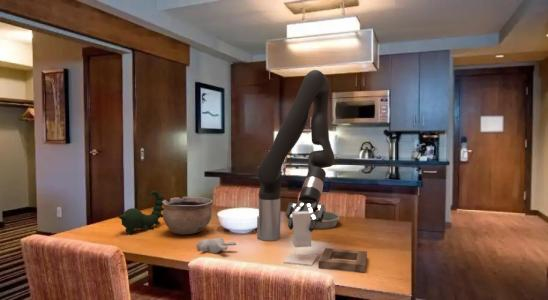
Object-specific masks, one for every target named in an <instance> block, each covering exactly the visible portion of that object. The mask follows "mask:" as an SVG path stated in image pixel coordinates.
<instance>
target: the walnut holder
mask: <svg viewBox="0 0 548 300" xmlns="http://www.w3.org/2000/svg"><path fill="white" fill-rule="evenodd" d="M354 260H355V261H354ZM367 261H368V251H366V250H354V249H353V250H352V249H342V248H331V247H330V248H329V247H325V248H324V250H323V252H322V254H321V255H320V257H319V259H318V269H323V270H335V271H342V272H353V273H363V274H365V272H366V269H367V268H366V267H367Z"/></svg>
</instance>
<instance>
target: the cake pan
mask: <svg viewBox="0 0 548 300" xmlns="http://www.w3.org/2000/svg"><path fill="white" fill-rule="evenodd" d="M318 213H319V210H317V211H315V212H314V214H315V217H318ZM340 218H341V216H340V215H339V214H337V213H335V212H331V211H327V210H325V214H324V217H323V220H328V221H322V222H317V223H316V225H315V229H314V230H323V229H325V228H326V229H331V228H334V227H336V226H337V222H338V220H339V219H340ZM310 219H312V217H311V215H310ZM326 229H325V230H326Z"/></svg>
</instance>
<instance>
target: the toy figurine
mask: <svg viewBox="0 0 548 300" xmlns="http://www.w3.org/2000/svg"><path fill="white" fill-rule="evenodd" d="M159 193H160V192H158V191H157V190H151V191H150V192H149V193H148V197H151V196H152V195H153V196H154V197H155V200H154V205H153V207H152V211H151V212H150V213H151V214H145V213H143V212H142V211H141V210H140V209H138V208H135V207H134V208H132V207H131V208H129V209H126V210H125V211H124V212H123V213H122V214H120V215H118V216H117V217H118V219H120V220H121V225H122V227H124V228H125V233H126V234H130V235H131V234H133V233H135V230H139V229H140V230H142V231H147V229H149V230H153V229H155V226H161V225H160V224H161V221H159V219H160V218H162V219H163V213H162V211H164V207H163V203H162V202H163V201H164V200H165V196H163V195H162V194H159Z"/></svg>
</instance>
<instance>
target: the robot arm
mask: <svg viewBox="0 0 548 300" xmlns="http://www.w3.org/2000/svg"><path fill="white" fill-rule="evenodd" d="M329 95H330V80H329V78H328V77H327V76H326V75H325V74H324V73H323V72H322V71H320V70H318V69H313V70H310V71H309V72H307V74H306V75H305V76H304V78H303V80H302V83H301V85H300V88H299V90H298V93H297V95H296V97H295V99H294V101H293V103H292V105H291V107H290V109H289V110H288V113H287V115H286V116H285V117H284V120H283V122H282V123H281V125H280V127H279V130H278V131H277V134H276V135H275V138H274V140H273V143H272V145H271V148H270V149H269V150H268V153H267V154H266V156H265V157H264V158H263V160H262V162H261V163H260V165H259V166H258V169H257V177H258V179H259V183H260V184H259V185H260V186H259V191H258V215H257V216H256V217H257V219H256V220H257V222H256V225H257V226H256V228H257V229H256V230H257V232H256V236H257V237H256V239H257V240H261V241H272V242H273V241H277V240H280V238H281V193H282V192H281V191H282V167H283V165H284V162H285V160H286V158H287V156H288V155H289V154H290V153H291V151H293V149H294V147H295V145H297V143H298V142H299V140H300V138H301V136H302V134H303V132H304V130H305V128H306V126H307V123H308V118H309V114H310V109H311V106H312V103H313V106H312V109H313V110H312V117H311V123H310V132H311V133H310V134H311V143H312V145H315V146H321V148H322V149H319V150H313V151H311V152H310V153H309V154H308V157H307V165H308V166H307V169H308V170H307V174H306V178H305V180H304V183H303V184H302V187H301V190H300V194H299V197H298V201H297V203H293V202H292V201H289V202H288V206H287V209H286V213H285V216H286V218H287V219H288V223H287V227H288V229H289V230H292V231H293V219H292V212H301V211H308V212H310V215H311V217H312V220H311V222H310V226H309V231H310V232H311V233H313V231H315V230H316V229H315V225H316V223H317V222H322V220H323V217H324V214H325V211H327V210H326V206H325V204H321V205H319V204H320V200H321V196H322V194H323V188H324V183H325V180H326V175H327V173H326V172H327V171H325V170H324V168H330V167H332V166H333V165H334V164H335V158H336V157H335V154H334V150H333V148H332V144H331V142H330V134H329V130H330V129H329V115H328V114H329V113H328V111H329V110H328V107H329V106H328V105H329ZM315 211H319V213H318V217H315V214H314V212H315Z"/></svg>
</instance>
